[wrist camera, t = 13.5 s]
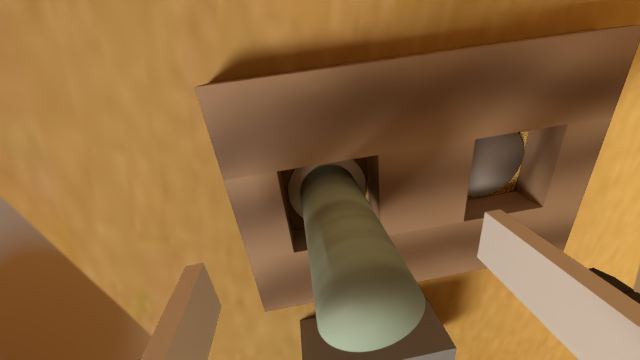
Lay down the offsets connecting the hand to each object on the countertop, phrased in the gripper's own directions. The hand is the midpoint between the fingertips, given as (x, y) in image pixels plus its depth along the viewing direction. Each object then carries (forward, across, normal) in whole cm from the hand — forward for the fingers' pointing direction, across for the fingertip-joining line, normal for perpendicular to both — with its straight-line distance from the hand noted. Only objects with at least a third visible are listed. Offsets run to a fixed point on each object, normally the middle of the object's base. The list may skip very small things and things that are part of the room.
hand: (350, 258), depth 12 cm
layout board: (+7, -6, 0) cm, 9 cm away
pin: (+7, 0, 0) cm, 7 cm away
